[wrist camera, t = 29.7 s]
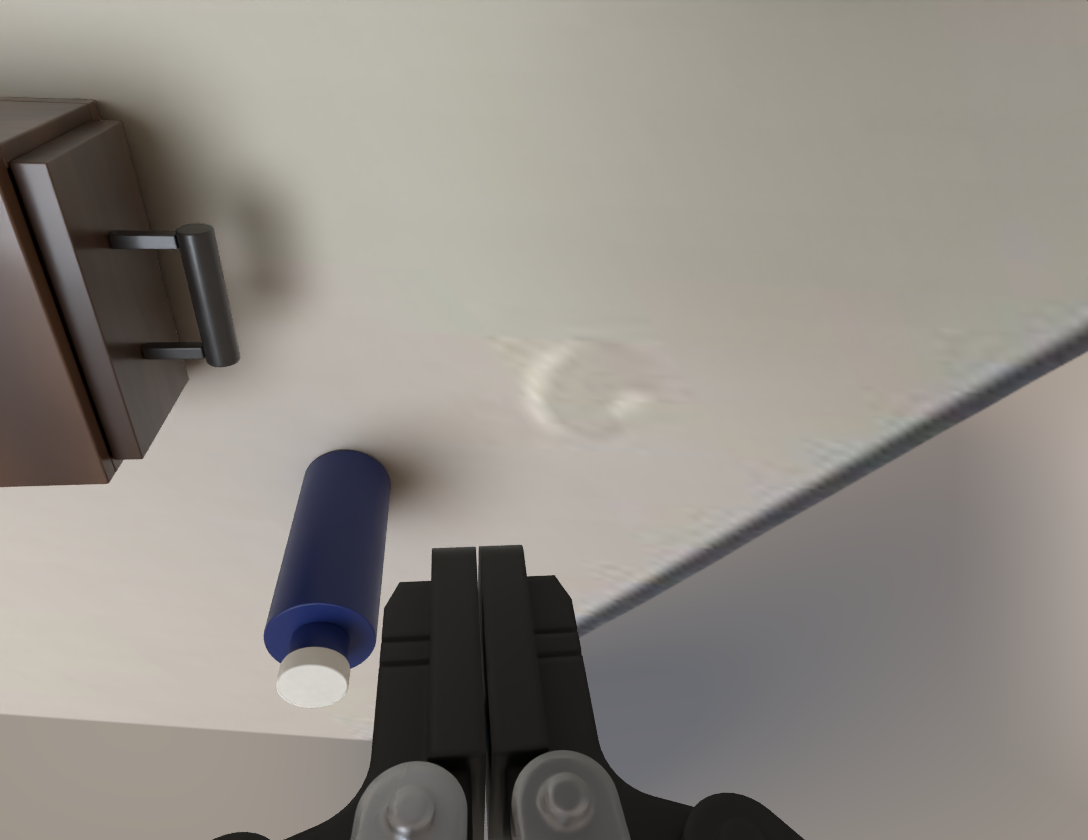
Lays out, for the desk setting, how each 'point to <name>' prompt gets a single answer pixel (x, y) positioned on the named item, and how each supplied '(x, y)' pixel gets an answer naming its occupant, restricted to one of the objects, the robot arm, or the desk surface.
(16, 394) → the cabinet
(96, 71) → the desk surface
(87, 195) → the drawer
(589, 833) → the robot arm
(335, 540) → the bottle
